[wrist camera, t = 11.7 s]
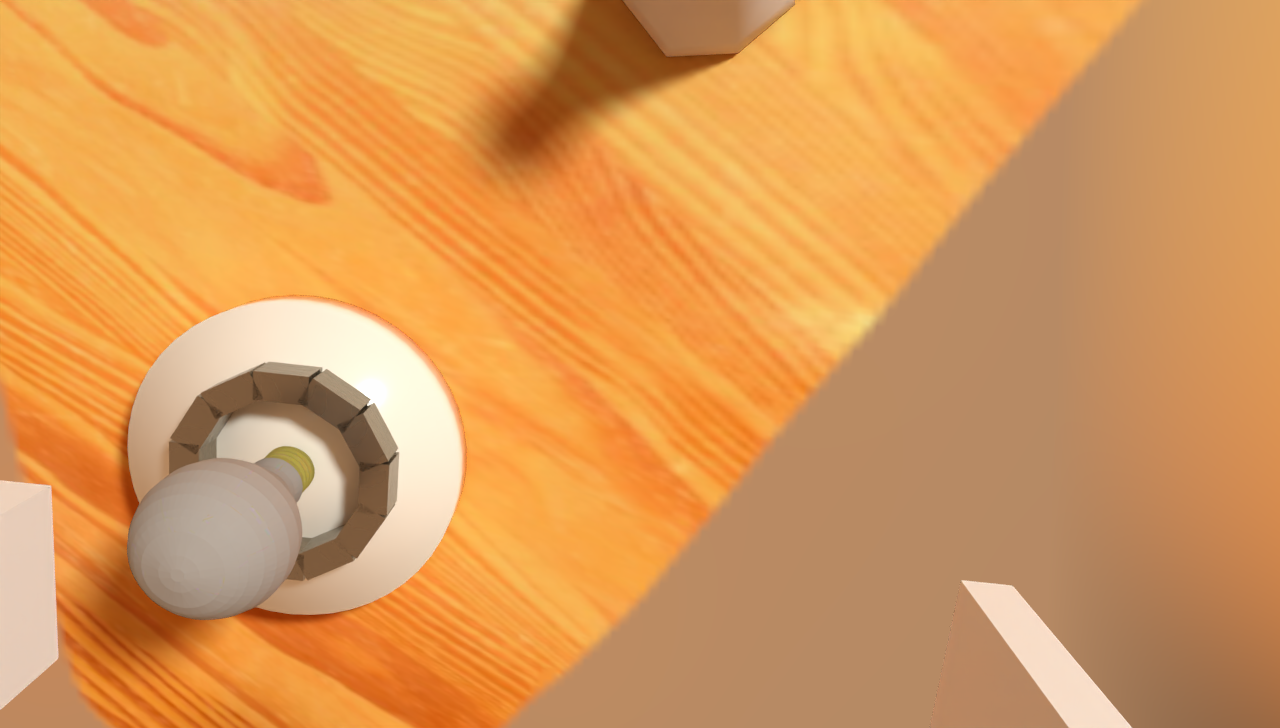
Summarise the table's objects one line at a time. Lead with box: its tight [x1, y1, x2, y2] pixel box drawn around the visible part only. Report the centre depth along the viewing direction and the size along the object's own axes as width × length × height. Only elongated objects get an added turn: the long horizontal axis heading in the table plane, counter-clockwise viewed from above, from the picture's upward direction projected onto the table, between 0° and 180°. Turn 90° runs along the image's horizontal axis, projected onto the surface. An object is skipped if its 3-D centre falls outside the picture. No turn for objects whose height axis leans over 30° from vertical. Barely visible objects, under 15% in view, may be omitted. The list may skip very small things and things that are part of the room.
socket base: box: [128, 295, 467, 615], centre depth 40 cm, size 14×14×2 cm
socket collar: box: [169, 362, 399, 581], centre depth 38 cm, size 9×9×2 cm
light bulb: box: [127, 446, 315, 620], centre depth 34 cm, size 6×5×10 cm
